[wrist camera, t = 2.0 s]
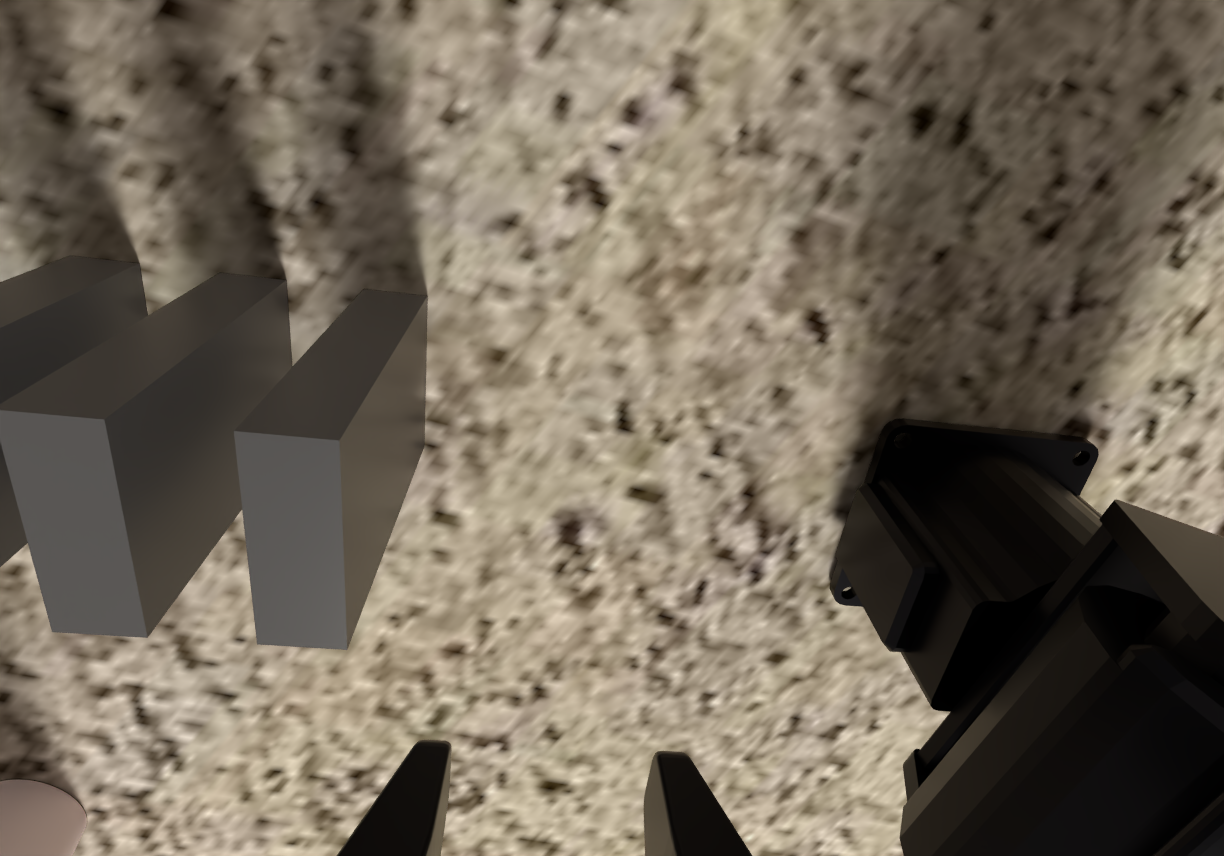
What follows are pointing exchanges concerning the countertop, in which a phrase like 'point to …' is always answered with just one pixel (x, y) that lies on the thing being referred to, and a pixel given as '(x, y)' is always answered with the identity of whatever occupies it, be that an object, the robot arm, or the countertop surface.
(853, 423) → the countertop surface
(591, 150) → the countertop surface
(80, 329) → the tile
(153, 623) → the tile
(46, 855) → the smoothie
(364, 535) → the tile
